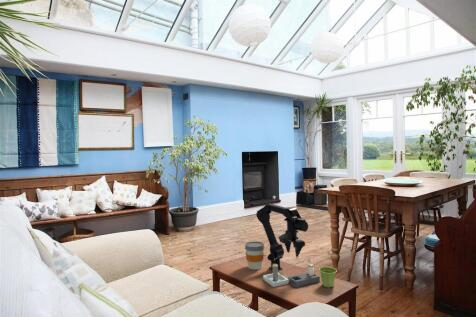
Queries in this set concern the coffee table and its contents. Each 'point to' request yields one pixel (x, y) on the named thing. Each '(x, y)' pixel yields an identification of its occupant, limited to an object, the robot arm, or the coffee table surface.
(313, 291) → the coffee table surface
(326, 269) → the plant pot
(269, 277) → the parts tray
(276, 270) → the cream capped cylinder
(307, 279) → the fuse holder
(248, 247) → the reusable coffee cup
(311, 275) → the cylinder
